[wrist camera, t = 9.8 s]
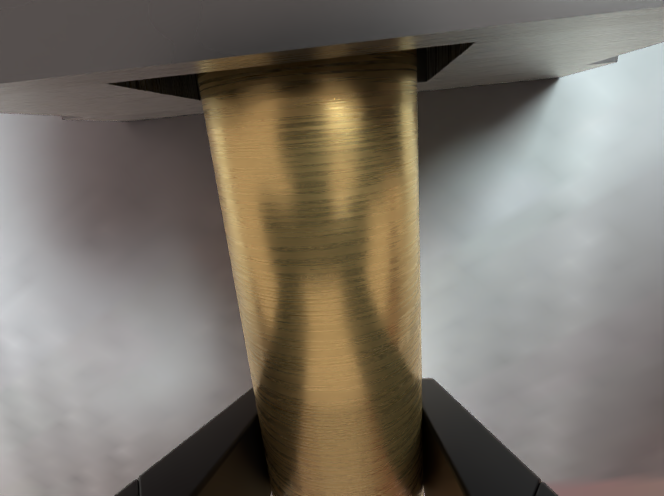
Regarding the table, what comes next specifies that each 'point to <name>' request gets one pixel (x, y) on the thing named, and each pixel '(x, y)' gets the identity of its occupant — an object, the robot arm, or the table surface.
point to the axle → (326, 264)
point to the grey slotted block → (290, 45)
